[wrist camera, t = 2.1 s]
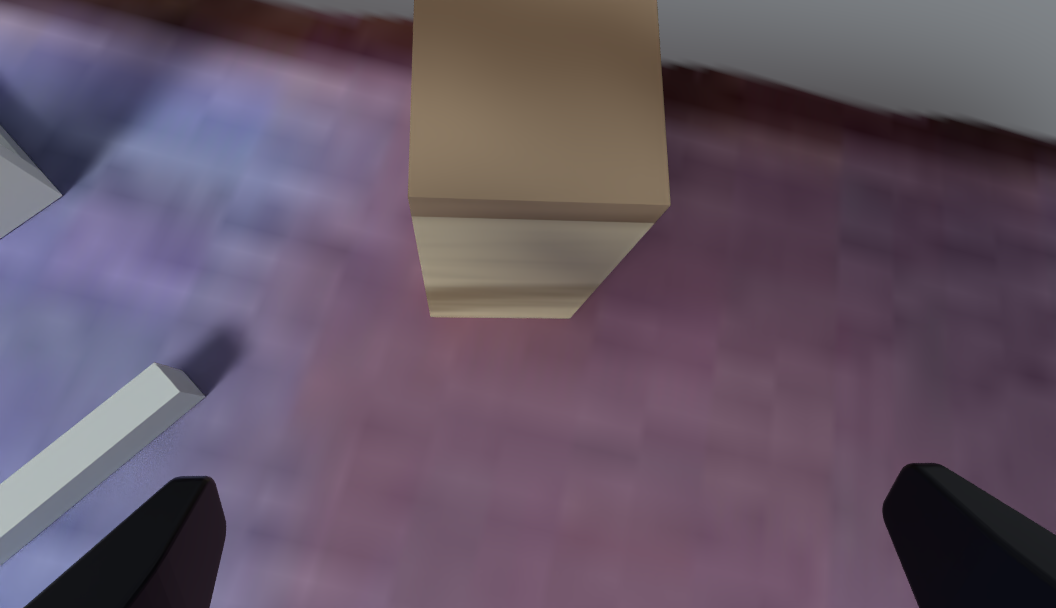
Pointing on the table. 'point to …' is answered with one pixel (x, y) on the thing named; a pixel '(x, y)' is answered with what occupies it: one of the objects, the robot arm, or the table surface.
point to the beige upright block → (532, 149)
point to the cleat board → (102, 436)
